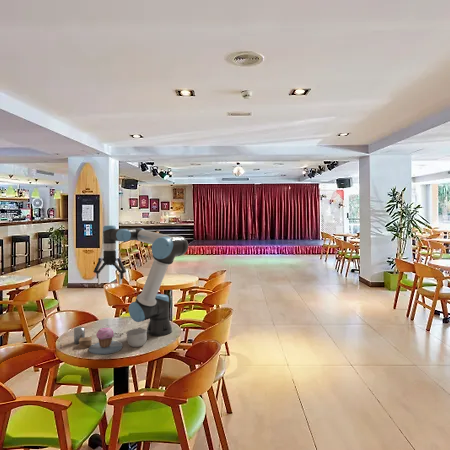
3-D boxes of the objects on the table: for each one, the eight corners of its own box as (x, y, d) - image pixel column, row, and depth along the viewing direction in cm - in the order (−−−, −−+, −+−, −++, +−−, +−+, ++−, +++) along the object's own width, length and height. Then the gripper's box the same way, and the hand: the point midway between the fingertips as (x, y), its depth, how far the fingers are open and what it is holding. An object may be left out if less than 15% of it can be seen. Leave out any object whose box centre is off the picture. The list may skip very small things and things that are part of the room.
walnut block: (91, 343, 204) (91, 336, 204) (90, 347, 198) (90, 340, 198) (80, 344, 202) (80, 337, 202) (78, 348, 197) (78, 341, 196)
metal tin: (86, 340, 208) (86, 326, 208) (81, 344, 203) (81, 330, 203) (77, 340, 209) (77, 326, 209) (72, 343, 203) (72, 329, 203)
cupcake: (93, 346, 196) (93, 327, 196) (109, 342, 202) (108, 324, 202) (101, 350, 190) (101, 331, 190) (116, 346, 196) (116, 327, 196)
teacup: (141, 349, 195) (141, 334, 194) (123, 348, 197) (122, 333, 197) (152, 340, 208) (151, 326, 208) (134, 339, 210) (134, 325, 210)
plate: (126, 343, 204) (126, 341, 204) (114, 355, 187) (114, 352, 187) (97, 342, 205) (97, 340, 205) (83, 353, 188) (83, 351, 188)
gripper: (87, 250, 225) (88, 284, 226) (126, 250, 223) (127, 285, 223) (93, 249, 232) (93, 282, 233) (131, 249, 230) (131, 283, 231)
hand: (110, 284), depth 228 cm, fingers open, 13 cm apart
